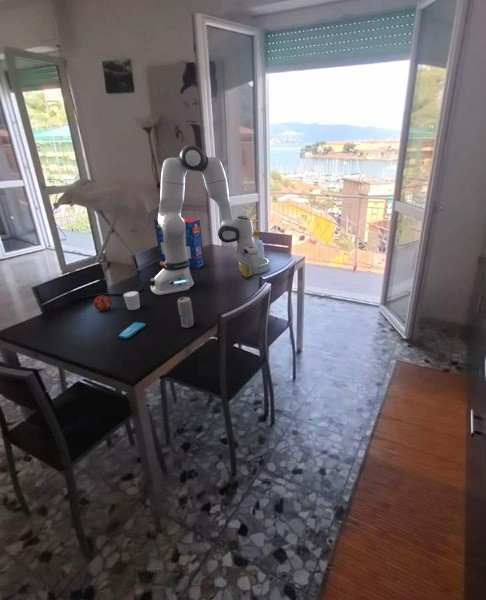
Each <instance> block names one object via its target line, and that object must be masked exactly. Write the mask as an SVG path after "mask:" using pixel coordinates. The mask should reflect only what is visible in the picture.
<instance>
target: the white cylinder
mask: <svg viewBox="0 0 486 600" xmlns="http://www.w3.org/2000/svg"><path fill="white" fill-rule="evenodd" d="M137 291H138V290H132V291H127V292H124V293H125V294H124V295H122V296H123V299H124V302H125V305H126V308H127V310H128V311H135V310H138V309H140V308H141V304H140V303H141V302H140V292H137Z"/></svg>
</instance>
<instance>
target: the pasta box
mask: <svg viewBox="0 0 486 600" xmlns="http://www.w3.org/2000/svg"><path fill="white" fill-rule="evenodd" d="M182 218H183V220H184V222H185V231H186V251H187V258H188V260H189V265H190V266H189V267H190V268H189V269H196V270H197V269H199V268H201V267H203V266H205V256H204V255H205V254H204V246H203V236H202V228H201V221H200V219H198V218H188V217H187V218H185V217H182ZM153 223H154V230H155V235H156V241H157V247H158V253H159V258H160V259H159V260H160V262H161V261H162V262H165V261H166V258H165V252H164V241H163V231H162V228H161V227H160V226H159V223H158V217H157V218H153Z"/></svg>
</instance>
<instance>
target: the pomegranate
mask: <svg viewBox="0 0 486 600" xmlns="http://www.w3.org/2000/svg"><path fill="white" fill-rule="evenodd" d="M93 306H94V308H95V309H96V310H97V311H99V312H105V311H109V310H110V309H111V307H112V300H111V298H110V297H109V296H108V295H100V296H95V298H94V300H93Z"/></svg>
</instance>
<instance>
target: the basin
mask: <svg viewBox="0 0 486 600" xmlns="http://www.w3.org/2000/svg"><path fill="white" fill-rule="evenodd" d="M269 270H270V260H269V259H268V258H266V257H264V258H263V257H259V267H258V268H253V275H259V274H261V275H262V274H264V273H266V272H267V271H269ZM238 271H239V272H240V273H242V267H241V262H239V261H238Z"/></svg>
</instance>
